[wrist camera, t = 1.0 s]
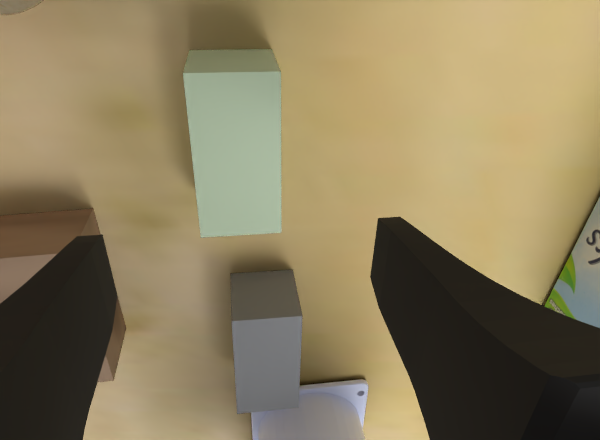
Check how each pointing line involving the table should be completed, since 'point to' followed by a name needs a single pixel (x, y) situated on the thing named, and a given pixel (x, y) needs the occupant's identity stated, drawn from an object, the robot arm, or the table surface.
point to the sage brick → (235, 139)
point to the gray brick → (266, 340)
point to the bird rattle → (16, 6)
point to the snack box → (581, 277)
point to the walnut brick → (40, 250)
